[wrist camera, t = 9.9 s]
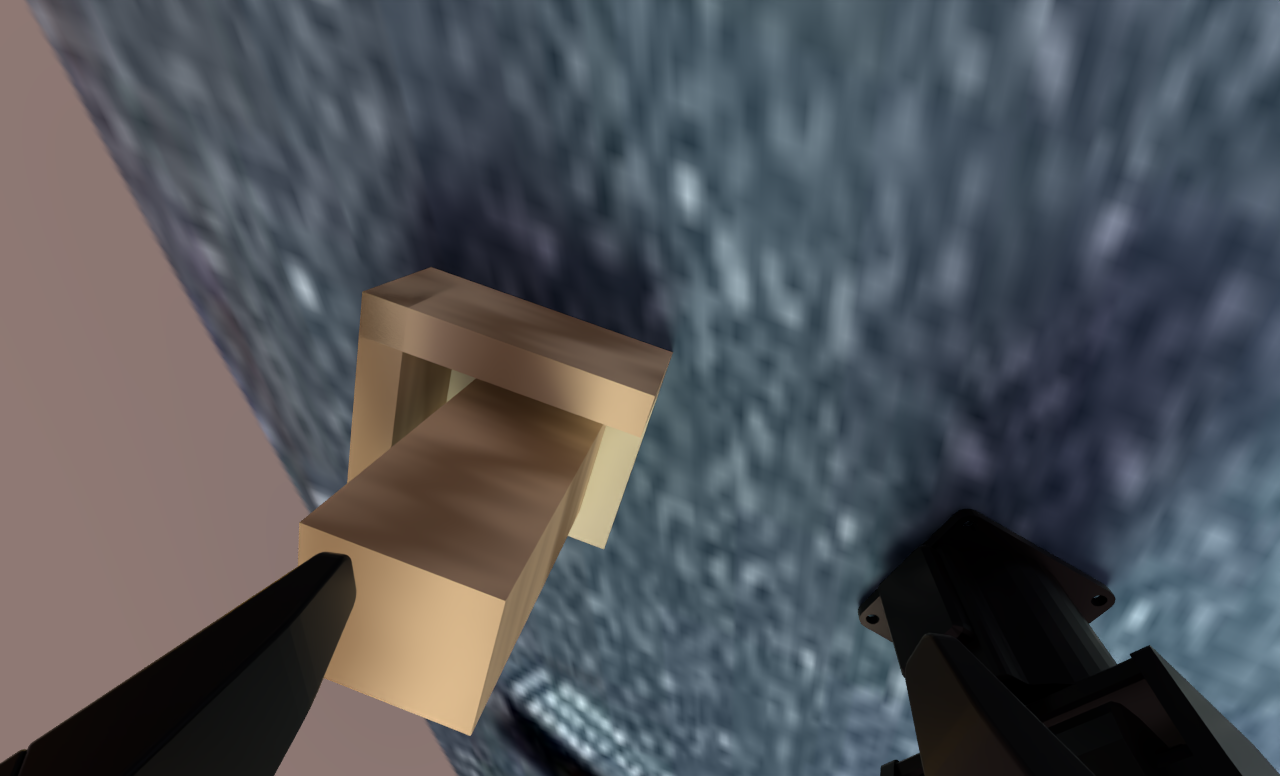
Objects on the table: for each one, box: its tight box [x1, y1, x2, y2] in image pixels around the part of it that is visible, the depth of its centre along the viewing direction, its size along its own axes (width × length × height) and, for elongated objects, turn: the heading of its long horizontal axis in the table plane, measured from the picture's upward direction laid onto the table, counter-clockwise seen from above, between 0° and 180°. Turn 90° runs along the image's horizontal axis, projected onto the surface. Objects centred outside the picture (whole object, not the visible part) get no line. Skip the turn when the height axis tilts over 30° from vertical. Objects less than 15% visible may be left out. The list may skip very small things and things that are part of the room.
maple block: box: [298, 378, 606, 736], centre depth 18 cm, size 5×5×10 cm
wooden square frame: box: [347, 267, 673, 549], centre depth 21 cm, size 10×10×4 cm
